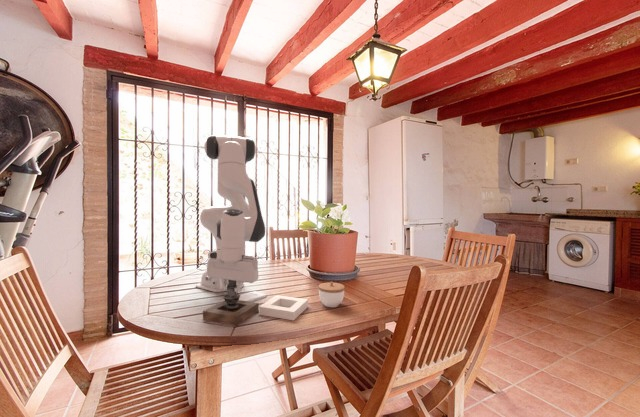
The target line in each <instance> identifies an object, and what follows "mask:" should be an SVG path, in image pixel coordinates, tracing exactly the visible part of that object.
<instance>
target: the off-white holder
mask: <svg viewBox="0 0 640 417" xmlns="http://www.w3.org/2000/svg"><path fill="white" fill-rule="evenodd" d="M307 308H309V299H306V298H299V297H293V296H285V295H278V294H276V295H274V296H273V297H272V298H270V299H268V300H267V301H265V302H264V303H262V304H261V305H260V306H259V311H258V315H260V316H266V317H271V318H278V319H284V320H290V321H295V320H296V319H297V318H298V317H299V316H300V315H301V314H302V313H303V312H304V311H305V310H306V309H307Z"/></svg>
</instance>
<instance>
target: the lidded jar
mask: <svg viewBox="0 0 640 417" xmlns="http://www.w3.org/2000/svg"><path fill="white" fill-rule="evenodd" d="M345 289H346V287H345V285H344V284H342V283H339V282H333V281H330V282H324V283H323V282H322V283H320V284H319V285H318V297H319V300H320V301H321V303H322V304H323V306H324V307H327V308H337V307H338V306H339V305H340V304H341V303H342V302H343V300H344V296H345Z"/></svg>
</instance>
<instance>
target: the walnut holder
mask: <svg viewBox="0 0 640 417" xmlns="http://www.w3.org/2000/svg"><path fill="white" fill-rule="evenodd" d="M259 303H260V302H254V301H252V302H248V301H241V300H238V302H237V304H239V306H238V307H237V308H231V309H229V308H225V307H224V305H225V304H227V303H226V302H225V300H222V301H220V302H218V303H216V304H214V305H212V306H210V307H208V308H206V309H203V311H202V320H203V321H205V320H206V321H208V322H215V323H220V324H221V323H222V324H224V325H225V324H226V325H231V326H235V327H237V326H239V325H240V324H242V323H243V322H245V321H246V320H247V319H249V318H251V317H252V316H254V315H255V314H257V313H259V305H260V304H259Z"/></svg>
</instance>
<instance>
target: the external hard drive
mask: <svg viewBox="0 0 640 417" xmlns="http://www.w3.org/2000/svg"><path fill="white" fill-rule="evenodd" d="M239 295H240V297H239V300H241V301H248V302H254V301H258V300H261V299H264V298H267V294H265V293H263V292H259V291H256V290H254V291H250V292H247V293H243V294H239Z"/></svg>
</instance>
